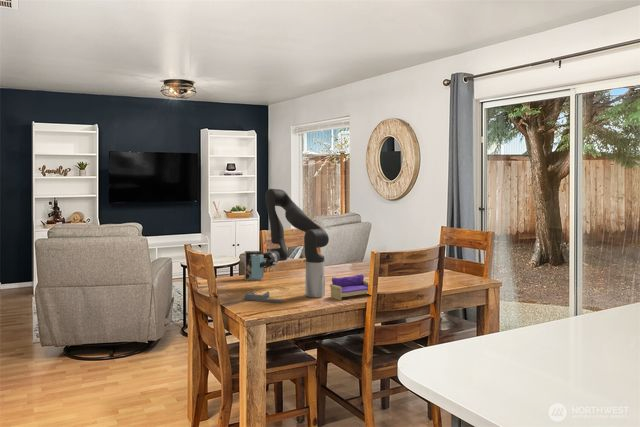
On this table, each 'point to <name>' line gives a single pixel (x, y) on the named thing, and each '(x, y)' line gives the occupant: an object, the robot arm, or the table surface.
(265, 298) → the rail bay
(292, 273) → the table surface
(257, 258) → the block
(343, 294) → the toy sofa
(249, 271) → the coffee box
